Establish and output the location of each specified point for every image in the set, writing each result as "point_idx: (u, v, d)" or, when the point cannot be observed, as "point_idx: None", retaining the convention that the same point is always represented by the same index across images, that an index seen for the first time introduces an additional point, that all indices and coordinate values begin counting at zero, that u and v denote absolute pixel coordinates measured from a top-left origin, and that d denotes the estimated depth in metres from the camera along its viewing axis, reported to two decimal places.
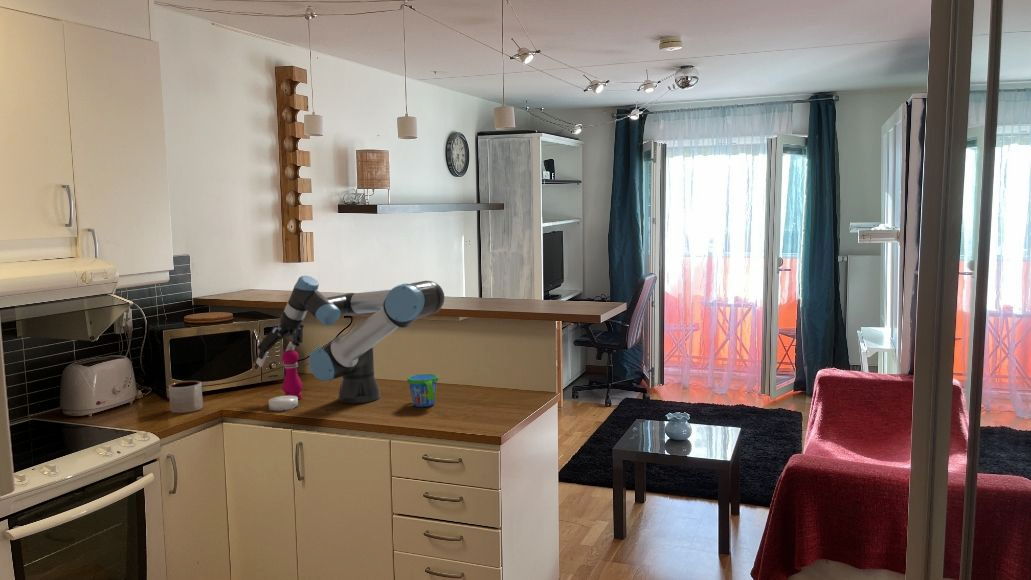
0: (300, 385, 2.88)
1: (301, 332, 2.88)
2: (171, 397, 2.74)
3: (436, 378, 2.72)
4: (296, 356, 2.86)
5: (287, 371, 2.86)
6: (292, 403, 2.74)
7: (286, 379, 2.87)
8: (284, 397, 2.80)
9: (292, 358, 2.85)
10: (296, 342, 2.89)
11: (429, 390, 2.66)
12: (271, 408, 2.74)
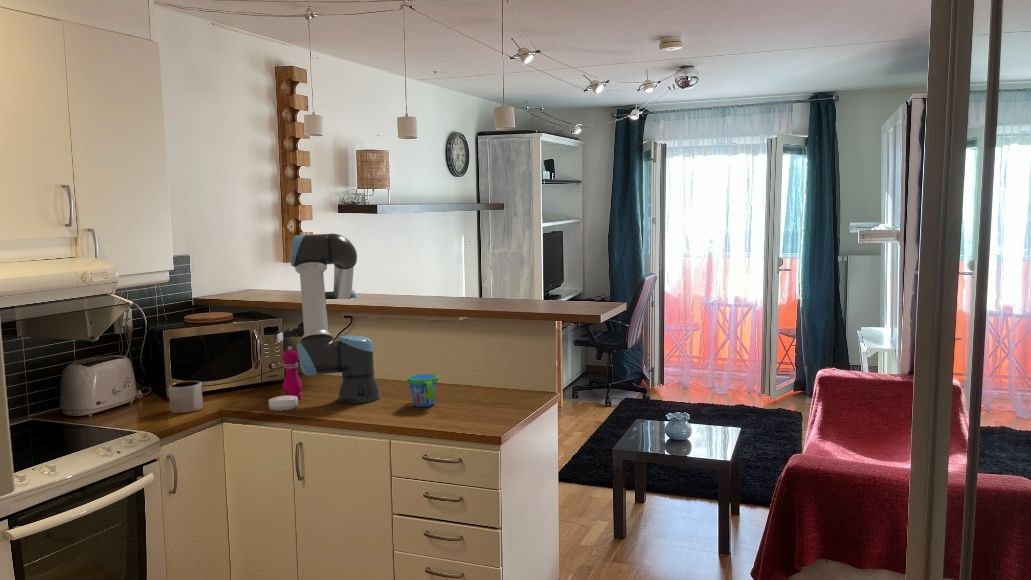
0: (300, 385, 2.88)
1: None
2: (171, 397, 2.74)
3: (436, 378, 2.72)
4: (296, 356, 2.87)
5: (287, 371, 2.87)
6: (292, 403, 2.74)
7: (286, 379, 2.87)
8: (284, 397, 2.80)
9: (293, 358, 2.85)
10: None
11: (429, 390, 2.66)
12: (271, 408, 2.74)
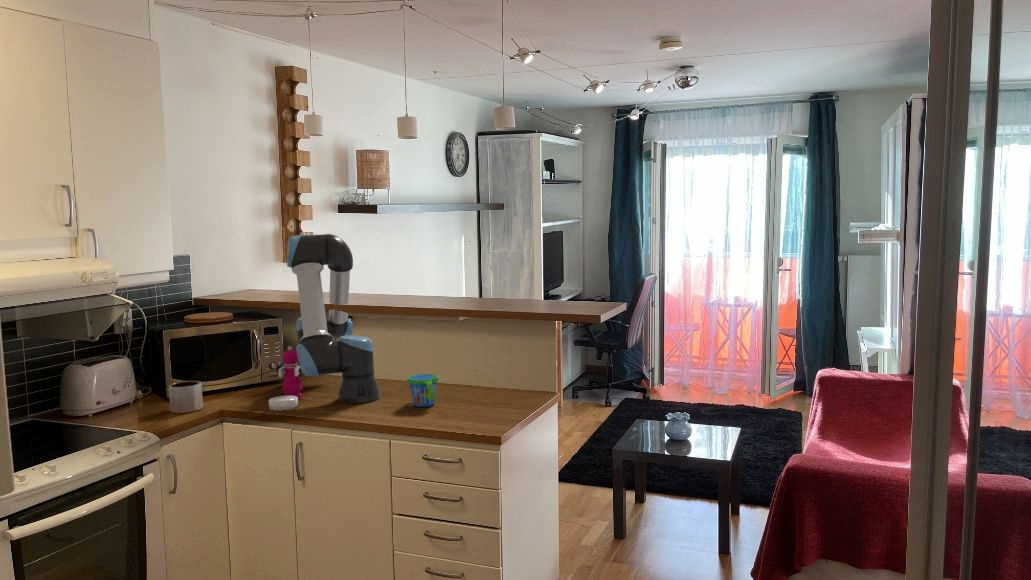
0: (300, 385, 2.88)
1: None
2: (171, 397, 2.74)
3: (436, 378, 2.72)
4: (296, 356, 2.87)
5: (287, 371, 2.87)
6: (292, 403, 2.74)
7: (286, 379, 2.87)
8: (284, 397, 2.80)
9: (293, 358, 2.85)
10: None
11: (429, 390, 2.66)
12: (271, 408, 2.74)
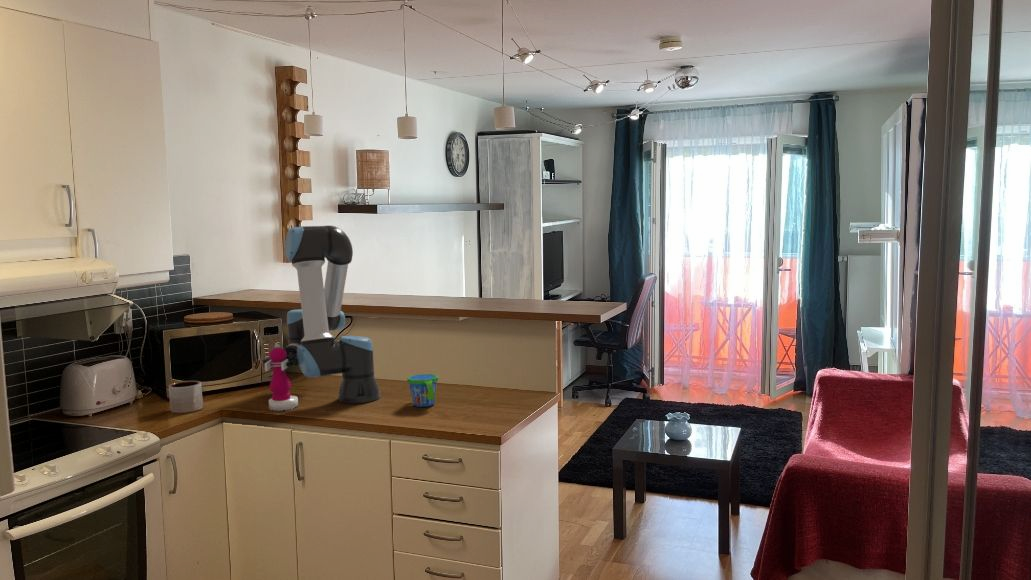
0: (288, 384, 2.76)
1: None
2: (171, 397, 2.74)
3: (436, 378, 2.72)
4: (284, 354, 2.75)
5: (274, 369, 2.75)
6: (292, 403, 2.74)
7: (273, 378, 2.75)
8: None
9: (280, 355, 2.73)
10: None
11: (429, 390, 2.66)
12: (271, 408, 2.74)
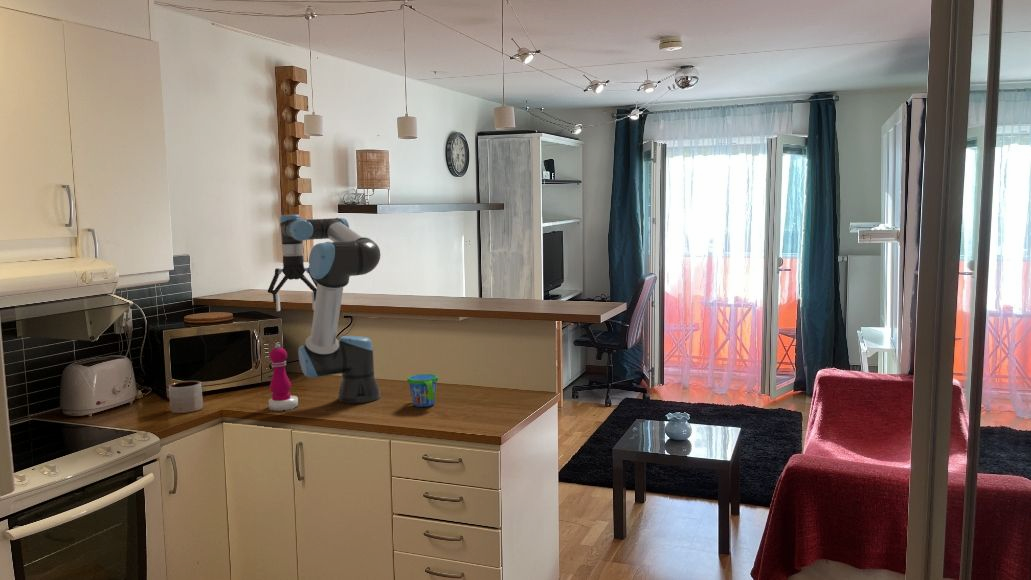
0: (288, 384, 2.76)
1: (312, 276, 2.96)
2: (171, 397, 2.74)
3: (436, 378, 2.72)
4: (284, 354, 2.75)
5: (275, 370, 2.75)
6: (292, 403, 2.74)
7: (274, 378, 2.75)
8: None
9: (280, 356, 2.74)
10: (312, 288, 2.97)
11: (429, 390, 2.66)
12: (271, 408, 2.74)
